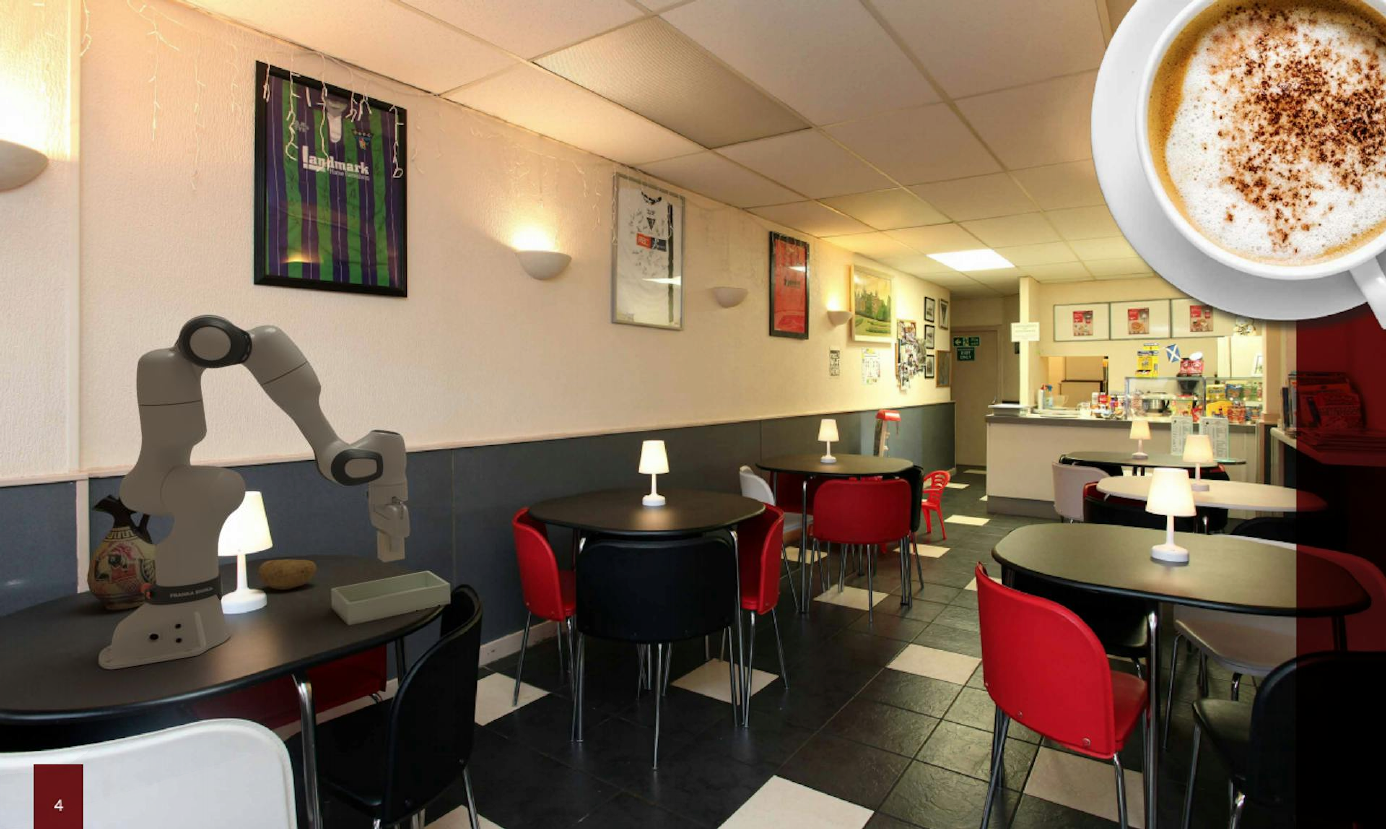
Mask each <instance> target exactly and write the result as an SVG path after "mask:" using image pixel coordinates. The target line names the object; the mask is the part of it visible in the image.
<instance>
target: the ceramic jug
mask: <svg viewBox="0 0 1386 829" xmlns="http://www.w3.org/2000/svg"><path fill="white" fill-rule="evenodd" d="M90 510H91V511H95V512H100V513H105V514H109V515H110V516H112V517H113V519H114V520H113V526H112V527H111V529H110V531H109V532H107V534H106V536H104V538H103V540H101V543H100V544H99V545H98V547H97V549H96V551H95V552H94V553H93V556H92V558H91V561H90V563H89V567H88V572H87V575H86V576H87V577H86V578H87V579H86V581H87V587H88V589H89V591H90V593H91V594H92V595H93V597H94V598H96V599H97V600H99V601H100V602H101V603H102V604H104V605H105V609H106V610H108V611H109V610H110V611H118V610H128V608H129V609H133V608H136V607H140V606H142V605H143V604H144V603H145V598H144V593H142V591H141V586H143V584H145V583H151V584H154V583H155V582H156V573H155V554H154V552H155V548H156V546H157V545H156V544H154V542H153V540H152V537H151V534H150V532H149V530H148V528H147V527H148V523H149V520H150V517H151V515H148V514H144V513H142V517H141V518H140V521H139V525H138V526H137V525H136V523H135V522H134V520H133V519H132V516H131V515H135V514H137V513H138V512H137V511H133V510H130V509H128V508H127V507H126V506H125V505H124V504H123V503H122V501H121V499H120V496H118V498H116V496H114V495H113V494H107V496H106V497H103V498H101V499H100V500H99V501H98V502H97V503H96V504H95V505H94V506H92V507H91V508H90ZM151 584H150V585H151Z"/></svg>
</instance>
